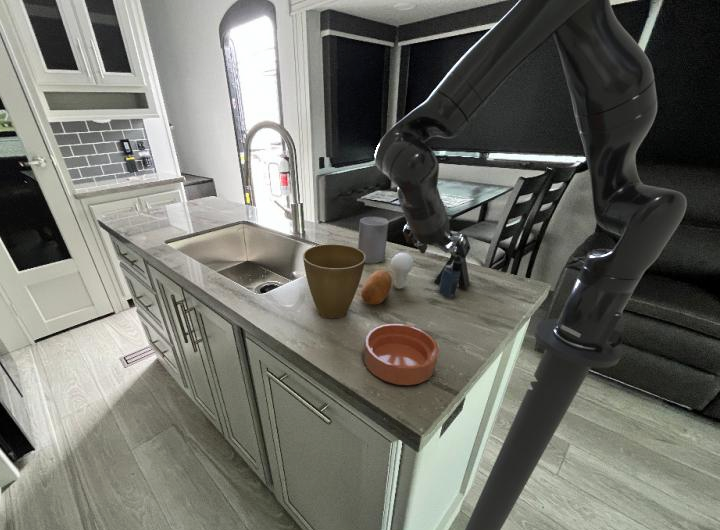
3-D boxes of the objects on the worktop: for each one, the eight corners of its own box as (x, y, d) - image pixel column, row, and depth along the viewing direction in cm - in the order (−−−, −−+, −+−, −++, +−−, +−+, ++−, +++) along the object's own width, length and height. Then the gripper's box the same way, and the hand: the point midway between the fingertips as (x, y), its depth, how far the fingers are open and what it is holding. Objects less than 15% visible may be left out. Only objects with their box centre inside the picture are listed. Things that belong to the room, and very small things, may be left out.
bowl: (445, 361, 67) (450, 342, 65) (412, 400, 58) (416, 379, 56) (387, 334, 76) (389, 316, 73) (350, 364, 67) (351, 345, 64)
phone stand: (433, 282, 98) (441, 245, 92) (439, 275, 103) (446, 239, 97) (464, 290, 94) (474, 251, 88) (468, 282, 98) (478, 245, 92)
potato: (393, 289, 95) (399, 269, 90) (379, 313, 86) (384, 292, 81) (370, 282, 97) (375, 262, 93) (354, 304, 88) (358, 283, 83)
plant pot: (299, 325, 79) (297, 265, 71) (309, 295, 92) (308, 242, 83) (360, 330, 77) (365, 269, 69) (362, 299, 90) (366, 245, 82)
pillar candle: (360, 252, 120) (362, 211, 112) (386, 255, 117) (391, 214, 110) (354, 262, 112) (356, 219, 104) (382, 265, 109) (387, 222, 102)
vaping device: (449, 299, 90) (458, 259, 83) (436, 290, 94) (444, 252, 88) (456, 297, 90) (466, 257, 84) (444, 289, 95) (452, 250, 89)
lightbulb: (410, 294, 92) (415, 258, 87) (388, 292, 93) (392, 256, 88) (408, 284, 97) (414, 250, 92) (388, 282, 98) (392, 248, 93)
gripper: (470, 208, 61) (477, 248, 74) (403, 196, 69) (420, 234, 82) (453, 241, 60) (463, 276, 73) (387, 226, 69) (407, 260, 82)
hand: (440, 254), depth 78 cm, fingers open, 8 cm apart
